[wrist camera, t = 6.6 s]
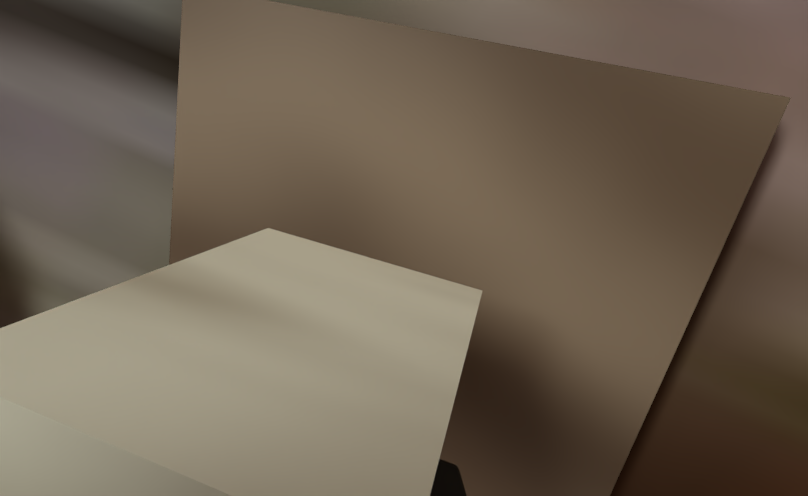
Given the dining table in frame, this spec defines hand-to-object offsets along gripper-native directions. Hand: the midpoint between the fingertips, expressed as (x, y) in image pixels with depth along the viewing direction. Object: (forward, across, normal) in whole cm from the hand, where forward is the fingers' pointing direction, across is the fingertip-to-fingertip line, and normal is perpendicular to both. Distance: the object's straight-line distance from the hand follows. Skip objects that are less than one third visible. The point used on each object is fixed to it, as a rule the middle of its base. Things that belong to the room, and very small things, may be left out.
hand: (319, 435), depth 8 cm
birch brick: (+1, 0, 0) cm, 1 cm away
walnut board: (+4, 0, 0) cm, 4 cm away
